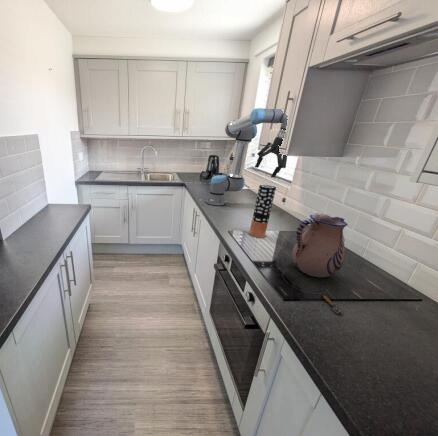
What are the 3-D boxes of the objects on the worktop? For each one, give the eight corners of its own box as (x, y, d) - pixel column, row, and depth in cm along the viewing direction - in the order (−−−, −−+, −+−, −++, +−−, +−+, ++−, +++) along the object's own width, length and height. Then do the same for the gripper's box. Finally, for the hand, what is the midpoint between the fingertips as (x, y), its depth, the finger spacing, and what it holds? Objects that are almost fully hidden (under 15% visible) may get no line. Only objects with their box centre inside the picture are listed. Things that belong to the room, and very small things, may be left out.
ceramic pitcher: (347, 279, 95) (369, 224, 86) (309, 288, 89) (329, 229, 80) (307, 258, 111) (323, 209, 102) (273, 265, 105) (286, 213, 96)
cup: (250, 230, 142) (253, 217, 138) (265, 234, 137) (268, 220, 134) (248, 235, 135) (251, 221, 132) (263, 239, 131) (267, 224, 128)
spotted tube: (270, 223, 129) (279, 188, 122) (256, 222, 129) (263, 188, 122) (264, 218, 137) (271, 185, 130) (250, 217, 137) (256, 184, 130)
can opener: (321, 297, 84) (322, 294, 84) (328, 297, 84) (329, 295, 84) (335, 315, 76) (337, 312, 76) (343, 316, 76) (344, 313, 75)
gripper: (262, 130, 139) (246, 163, 151) (297, 145, 121) (276, 181, 133) (270, 131, 142) (254, 163, 154) (305, 146, 125) (284, 181, 136)
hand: (264, 172), depth 143 cm, fingers open, 13 cm apart
